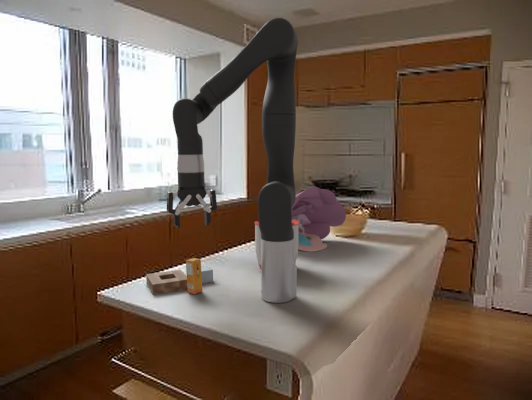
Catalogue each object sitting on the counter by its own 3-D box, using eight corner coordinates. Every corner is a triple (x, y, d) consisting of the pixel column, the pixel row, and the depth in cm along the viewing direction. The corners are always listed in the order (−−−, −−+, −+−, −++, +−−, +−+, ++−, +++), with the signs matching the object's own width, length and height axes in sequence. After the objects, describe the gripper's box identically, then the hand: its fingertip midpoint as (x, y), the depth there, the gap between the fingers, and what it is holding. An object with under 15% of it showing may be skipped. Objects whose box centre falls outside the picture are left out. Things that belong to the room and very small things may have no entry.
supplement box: (195, 289, 123) (194, 257, 121) (202, 291, 121) (201, 259, 119) (186, 292, 120) (185, 259, 119) (194, 294, 118) (193, 261, 117)
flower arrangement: (302, 269, 159) (312, 201, 150) (255, 249, 172) (261, 186, 163) (342, 243, 186) (352, 185, 177) (299, 228, 199) (306, 172, 190)
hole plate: (181, 278, 133) (180, 269, 133) (189, 288, 123) (189, 279, 123) (146, 283, 128) (146, 274, 128) (153, 294, 119) (152, 284, 118)
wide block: (206, 276, 135) (206, 265, 135) (213, 281, 130) (212, 269, 130) (189, 279, 133) (189, 267, 132) (195, 284, 127) (194, 272, 127)
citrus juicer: (273, 259, 155) (272, 208, 152) (308, 269, 142) (308, 213, 140) (242, 268, 144) (241, 212, 141) (277, 279, 131) (277, 218, 129)
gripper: (168, 172, 109) (171, 230, 111) (219, 170, 115) (220, 226, 118) (163, 170, 116) (165, 226, 118) (210, 169, 122) (212, 222, 124)
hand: (192, 226), depth 118 cm, fingers open, 8 cm apart
